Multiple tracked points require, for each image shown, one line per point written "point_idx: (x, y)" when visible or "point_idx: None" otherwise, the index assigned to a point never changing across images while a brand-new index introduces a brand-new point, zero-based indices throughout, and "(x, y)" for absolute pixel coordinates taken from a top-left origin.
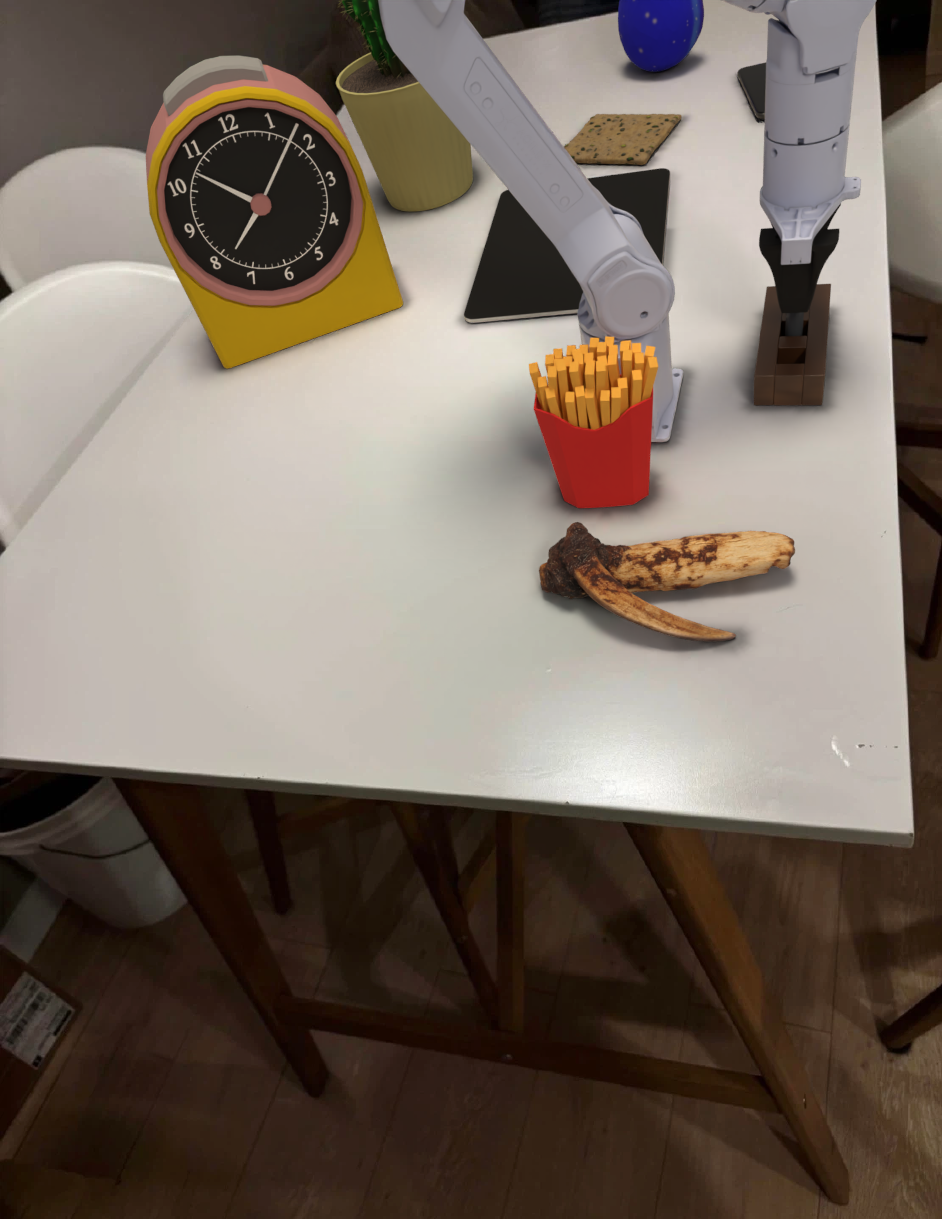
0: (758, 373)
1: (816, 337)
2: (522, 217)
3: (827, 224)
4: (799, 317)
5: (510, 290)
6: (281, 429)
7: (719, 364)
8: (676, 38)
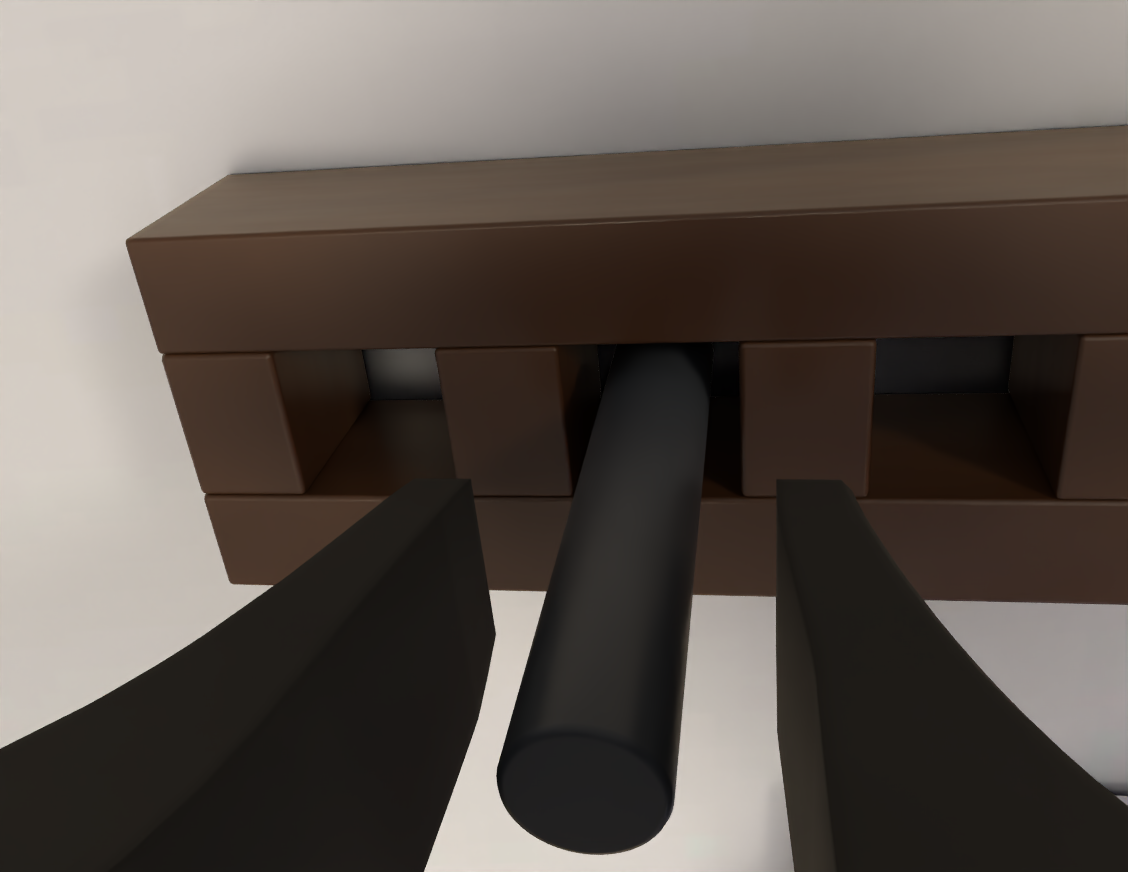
0: None
1: (765, 284)
2: None
3: (183, 827)
4: (693, 454)
5: None
6: None
7: (726, 643)
8: None
